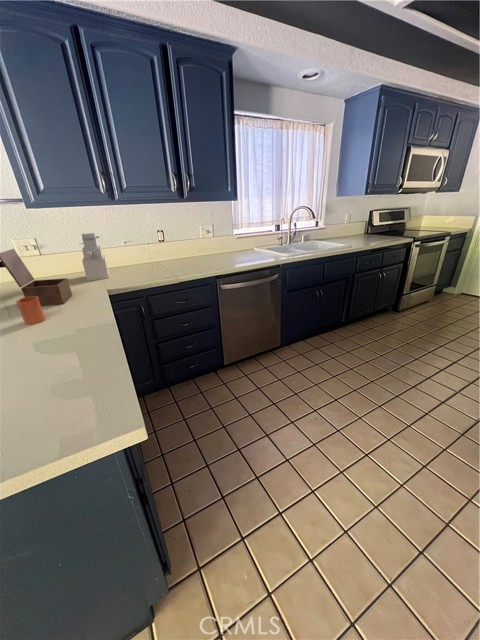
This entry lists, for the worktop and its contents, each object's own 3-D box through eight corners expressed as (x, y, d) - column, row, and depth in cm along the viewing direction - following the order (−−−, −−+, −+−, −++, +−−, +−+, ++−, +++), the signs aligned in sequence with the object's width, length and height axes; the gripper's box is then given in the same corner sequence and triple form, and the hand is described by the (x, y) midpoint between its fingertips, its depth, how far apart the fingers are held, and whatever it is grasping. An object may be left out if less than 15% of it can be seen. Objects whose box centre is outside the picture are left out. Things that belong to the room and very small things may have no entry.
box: (72, 295, 145) (67, 278, 140) (63, 304, 133) (57, 285, 128) (40, 298, 141) (34, 280, 137) (28, 307, 129) (21, 288, 125)
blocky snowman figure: (109, 271, 191) (100, 231, 180) (108, 280, 172) (98, 235, 160) (89, 273, 187) (78, 232, 175) (86, 282, 167) (74, 236, 155)
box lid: (13, 248, 129) (12, 249, 129) (-2, 253, 117) (-4, 254, 117) (34, 279, 137) (33, 279, 137) (21, 286, 125) (19, 287, 125)
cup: (23, 326, 110) (14, 303, 106) (26, 319, 116) (18, 298, 112) (44, 322, 113) (36, 300, 109) (46, 316, 119) (39, 295, 115)
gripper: (-37, 271, 128) (19, 268, 133) (-57, 278, 117) (5, 275, 122) (-44, 256, 125) (13, 253, 130) (-66, 262, 114) (-2, 258, 119)
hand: (9, 263), depth 126 cm, fingers closed
